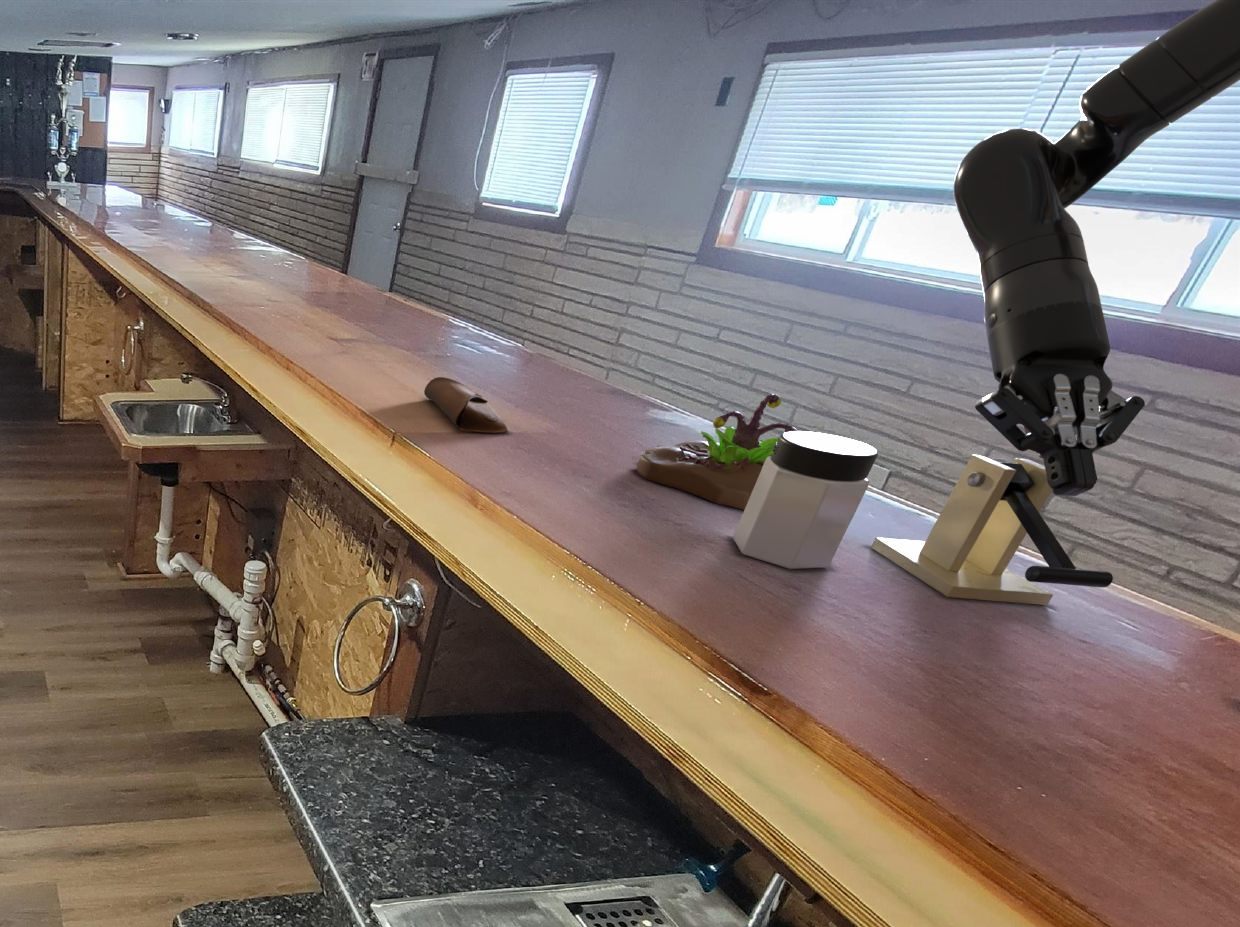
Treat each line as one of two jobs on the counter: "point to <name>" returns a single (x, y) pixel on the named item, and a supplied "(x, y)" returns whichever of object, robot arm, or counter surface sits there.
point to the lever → (1046, 539)
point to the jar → (804, 499)
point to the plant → (716, 459)
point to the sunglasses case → (464, 406)
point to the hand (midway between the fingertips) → (1074, 491)
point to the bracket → (975, 538)
